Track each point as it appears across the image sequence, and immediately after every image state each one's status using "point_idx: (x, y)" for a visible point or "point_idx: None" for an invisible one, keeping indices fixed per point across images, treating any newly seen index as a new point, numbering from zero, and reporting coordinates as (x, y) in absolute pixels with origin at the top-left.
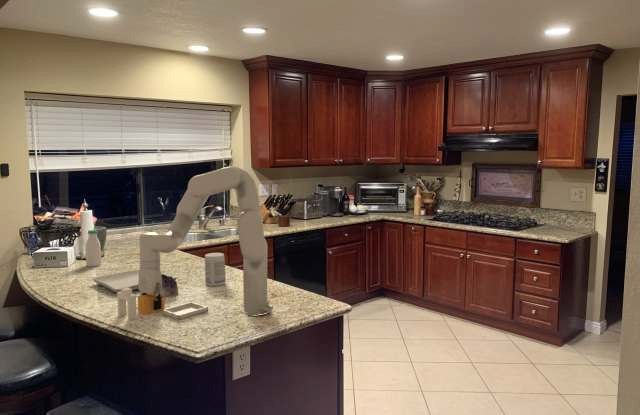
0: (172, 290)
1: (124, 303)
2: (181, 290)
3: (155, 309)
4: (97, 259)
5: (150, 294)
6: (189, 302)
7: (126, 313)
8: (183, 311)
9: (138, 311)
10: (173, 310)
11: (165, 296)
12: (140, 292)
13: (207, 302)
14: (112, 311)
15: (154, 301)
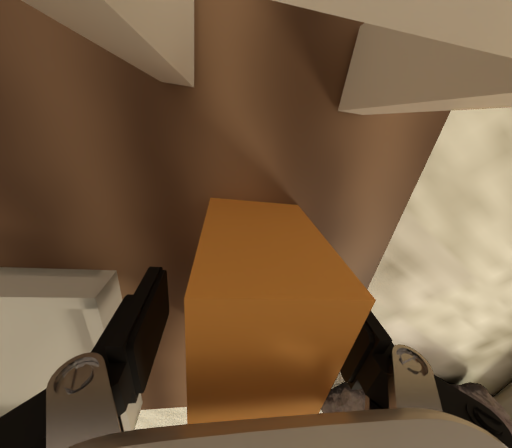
0: None
1: (444, 66)
2: None
3: (149, 274)
4: None
5: (79, 446)
6: (126, 427)
7: (342, 109)
8: (50, 358)
9: (295, 208)
10: None
11: (354, 396)
12: (434, 381)
13: None
14: (506, 146)
15: (111, 335)
